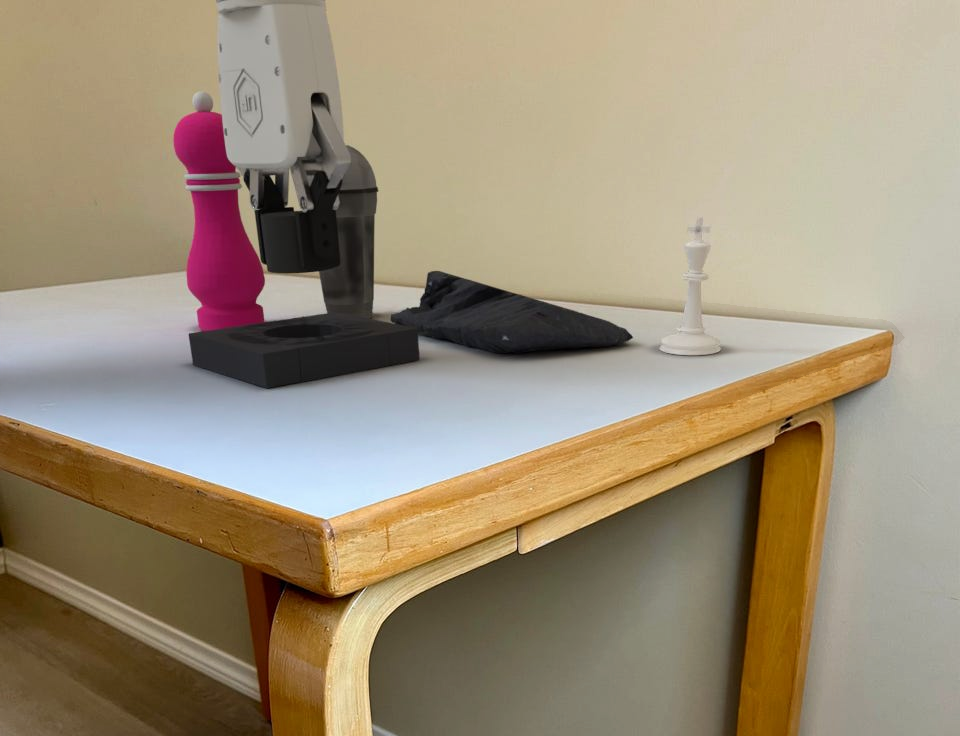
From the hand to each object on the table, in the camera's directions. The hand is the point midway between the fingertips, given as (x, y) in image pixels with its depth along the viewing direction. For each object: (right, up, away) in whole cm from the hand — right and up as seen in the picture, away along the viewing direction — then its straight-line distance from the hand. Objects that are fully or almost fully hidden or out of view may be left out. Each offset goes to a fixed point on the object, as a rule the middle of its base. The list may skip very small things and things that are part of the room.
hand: (300, 263), depth 78 cm
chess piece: (+31, -6, +5) cm, 32 cm away
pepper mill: (-10, +1, +19) cm, 22 cm away
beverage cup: (+1, +3, +23) cm, 23 cm away
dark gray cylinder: (0, 0, 0) cm, 0 cm away
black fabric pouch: (+16, -2, +12) cm, 20 cm away
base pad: (0, -7, +3) cm, 8 cm away
